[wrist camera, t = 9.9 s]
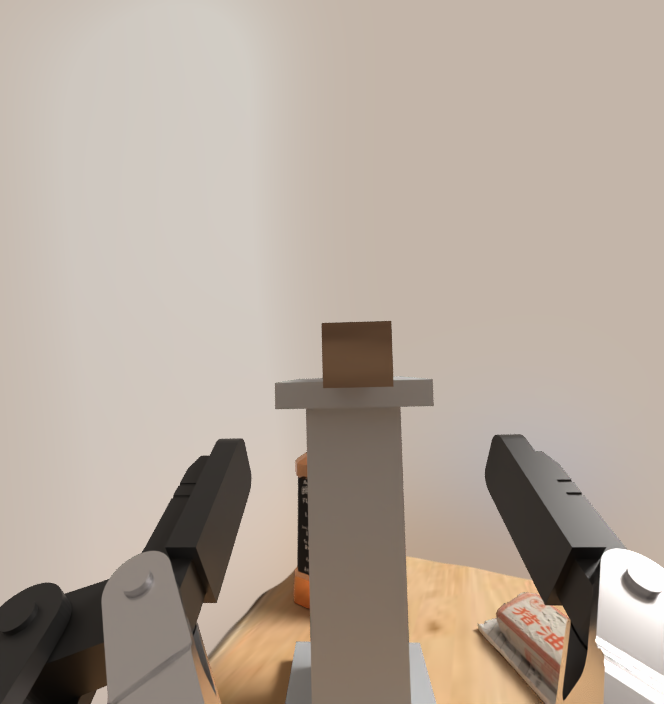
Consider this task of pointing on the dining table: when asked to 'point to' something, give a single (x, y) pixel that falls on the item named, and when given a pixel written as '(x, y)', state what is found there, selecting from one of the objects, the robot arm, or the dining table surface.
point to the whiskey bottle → (302, 536)
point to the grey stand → (356, 547)
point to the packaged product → (530, 641)
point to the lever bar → (357, 354)
